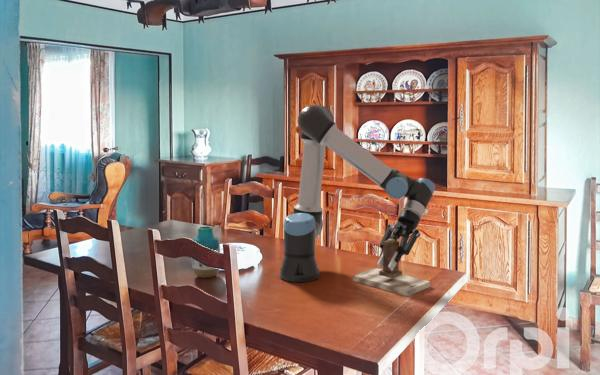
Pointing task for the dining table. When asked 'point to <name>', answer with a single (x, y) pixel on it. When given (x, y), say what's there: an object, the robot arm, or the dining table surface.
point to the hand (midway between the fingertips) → (384, 267)
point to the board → (392, 282)
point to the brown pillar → (388, 253)
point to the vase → (211, 242)
